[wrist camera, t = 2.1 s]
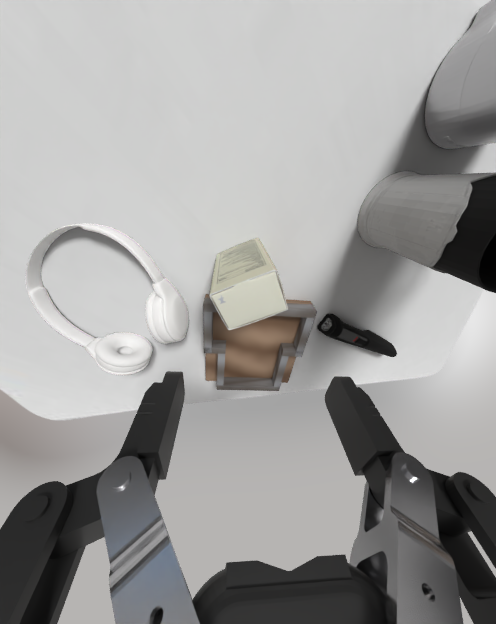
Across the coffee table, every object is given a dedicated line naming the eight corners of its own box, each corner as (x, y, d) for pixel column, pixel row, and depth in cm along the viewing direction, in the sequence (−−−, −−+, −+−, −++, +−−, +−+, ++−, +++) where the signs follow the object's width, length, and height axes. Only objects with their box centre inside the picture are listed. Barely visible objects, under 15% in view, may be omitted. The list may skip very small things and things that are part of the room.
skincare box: (228, 280, 30) (225, 333, 20) (215, 253, 28) (204, 296, 17) (270, 265, 29) (290, 311, 19) (260, 235, 27) (277, 269, 16)
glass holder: (369, 171, 23) (526, 159, 11) (487, 170, 24) (767, 157, 11) (349, 248, 28) (443, 302, 16) (448, 245, 29) (616, 296, 16)
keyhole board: (205, 294, 31) (203, 304, 28) (310, 301, 32) (317, 311, 30) (206, 376, 40) (204, 389, 38) (286, 378, 42) (290, 391, 40)
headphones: (201, 333, 25) (52, 187, 19) (115, 396, 31) (-22, 298, 25) (213, 309, 32) (104, 194, 26) (140, 364, 37) (36, 281, 31)
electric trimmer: (377, 351, 40) (388, 364, 37) (314, 327, 36) (321, 338, 33) (392, 338, 38) (404, 349, 36) (328, 310, 34) (336, 321, 31)
